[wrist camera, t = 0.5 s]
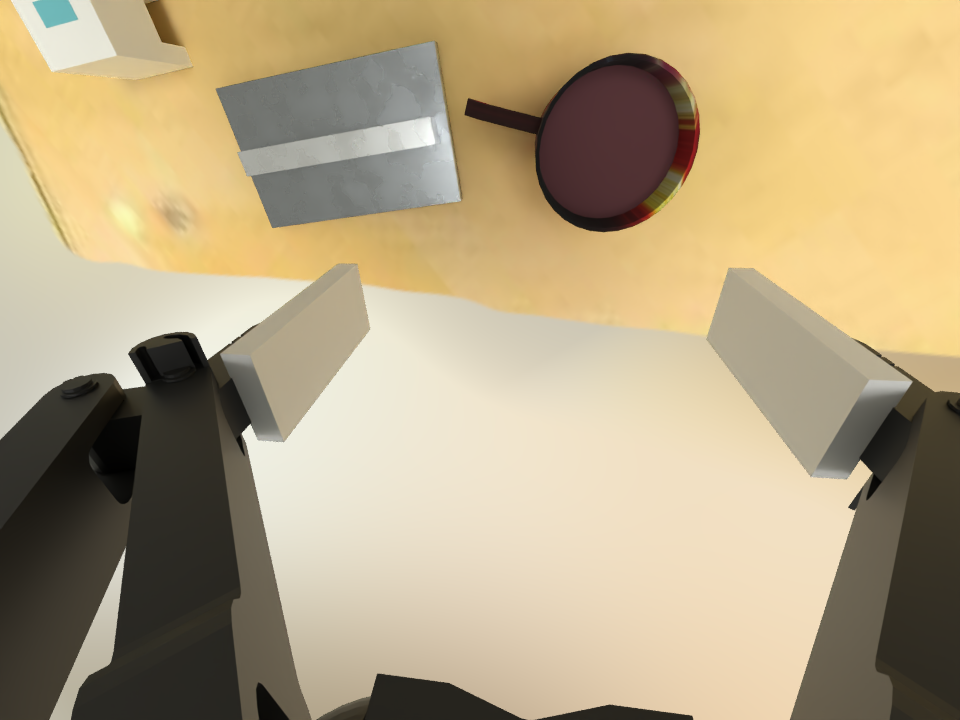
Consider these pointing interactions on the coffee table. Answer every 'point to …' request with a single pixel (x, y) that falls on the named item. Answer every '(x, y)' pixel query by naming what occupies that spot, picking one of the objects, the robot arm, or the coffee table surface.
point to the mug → (611, 141)
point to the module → (100, 38)
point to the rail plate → (347, 112)
